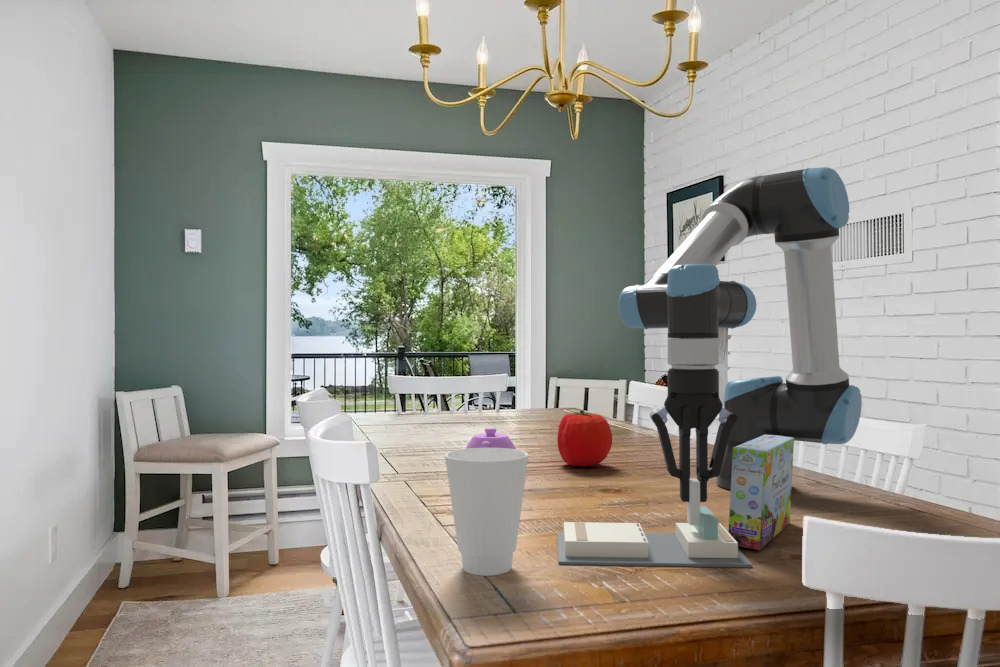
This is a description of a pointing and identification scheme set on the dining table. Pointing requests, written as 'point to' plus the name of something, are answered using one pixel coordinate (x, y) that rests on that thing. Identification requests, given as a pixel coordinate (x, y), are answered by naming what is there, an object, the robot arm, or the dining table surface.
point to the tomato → (584, 439)
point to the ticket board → (629, 547)
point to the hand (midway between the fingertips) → (693, 523)
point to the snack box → (760, 490)
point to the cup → (486, 505)
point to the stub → (706, 538)
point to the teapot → (490, 440)
